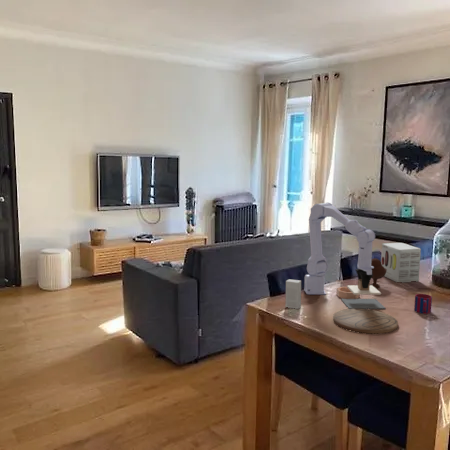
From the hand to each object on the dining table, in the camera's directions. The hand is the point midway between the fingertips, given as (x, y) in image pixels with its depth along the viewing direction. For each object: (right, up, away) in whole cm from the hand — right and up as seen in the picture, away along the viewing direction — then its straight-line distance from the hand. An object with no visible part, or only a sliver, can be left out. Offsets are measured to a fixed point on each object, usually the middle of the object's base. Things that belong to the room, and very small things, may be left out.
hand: (363, 286), depth 208 cm
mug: (+23, -10, -9) cm, 26 cm away
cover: (0, -2, 0) cm, 2 cm away
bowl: (-3, -6, +14) cm, 16 cm away
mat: (0, -8, +1) cm, 8 cm away
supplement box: (+33, -2, +47) cm, 57 cm away
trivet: (-6, -12, -21) cm, 25 cm away
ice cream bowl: (+15, -4, +30) cm, 33 cm away
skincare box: (-32, -9, -3) cm, 33 cm away
